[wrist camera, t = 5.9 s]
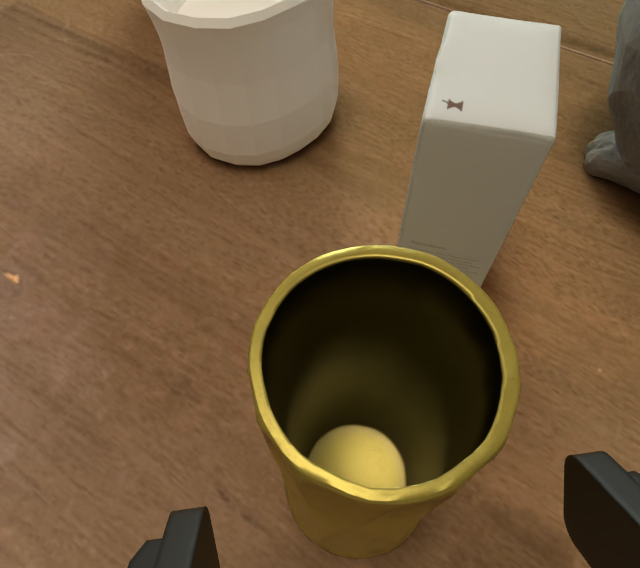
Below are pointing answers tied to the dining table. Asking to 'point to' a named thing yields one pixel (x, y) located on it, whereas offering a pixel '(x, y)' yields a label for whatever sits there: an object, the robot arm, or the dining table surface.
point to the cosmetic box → (481, 137)
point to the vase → (379, 391)
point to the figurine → (621, 109)
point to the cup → (250, 73)
